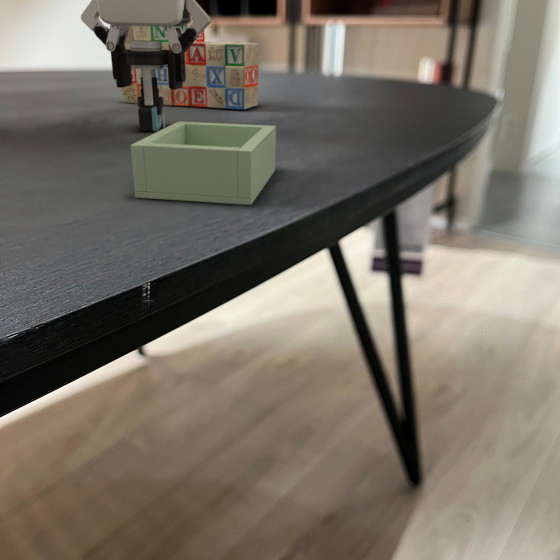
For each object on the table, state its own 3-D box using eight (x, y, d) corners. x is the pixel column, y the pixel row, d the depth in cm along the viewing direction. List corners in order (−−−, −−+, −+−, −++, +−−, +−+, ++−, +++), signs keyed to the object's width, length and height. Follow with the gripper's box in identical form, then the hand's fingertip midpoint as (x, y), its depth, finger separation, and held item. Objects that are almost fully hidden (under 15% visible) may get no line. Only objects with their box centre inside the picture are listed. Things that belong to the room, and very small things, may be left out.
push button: (135, 123, 74) (128, 39, 70) (176, 123, 74) (172, 40, 70) (127, 132, 68) (118, 41, 64) (172, 132, 68) (167, 42, 64)
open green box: (135, 197, 43) (130, 144, 42) (180, 165, 53) (177, 121, 52) (251, 205, 42) (251, 150, 40) (275, 170, 52) (276, 125, 50)
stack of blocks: (259, 105, 91) (259, 21, 86) (244, 111, 85) (243, 20, 80) (141, 98, 97) (135, 18, 92) (121, 102, 92) (113, 18, 86)
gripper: (223, -83, 64) (226, 86, 71) (79, -82, 66) (96, 82, 74) (205, -95, 57) (211, 93, 65) (45, -94, 59) (68, 88, 67)
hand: (150, 85), depth 69 cm, fingers open, 5 cm apart
